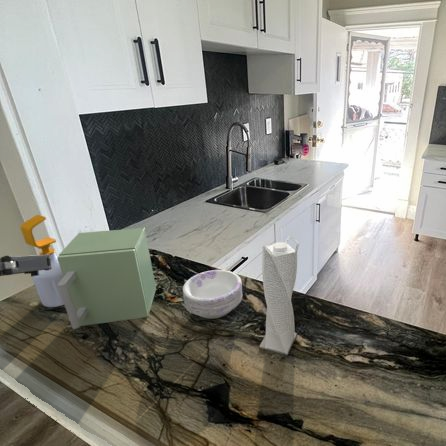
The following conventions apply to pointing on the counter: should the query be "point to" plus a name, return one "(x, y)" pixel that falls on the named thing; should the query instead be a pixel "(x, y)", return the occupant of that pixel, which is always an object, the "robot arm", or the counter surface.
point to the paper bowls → (212, 293)
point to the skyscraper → (279, 295)
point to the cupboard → (119, 241)
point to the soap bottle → (45, 279)
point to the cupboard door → (102, 287)
